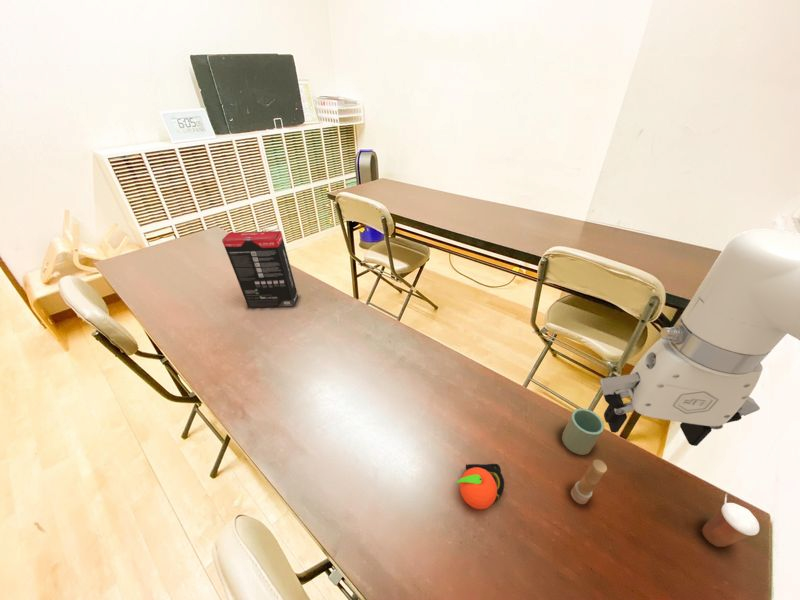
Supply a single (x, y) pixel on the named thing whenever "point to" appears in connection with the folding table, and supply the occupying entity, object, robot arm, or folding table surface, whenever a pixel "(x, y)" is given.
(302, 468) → the folding table surface
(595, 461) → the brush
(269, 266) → the graphics card box
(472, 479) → the clementine
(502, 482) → the tape measure
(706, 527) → the milkshake
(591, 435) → the cup
